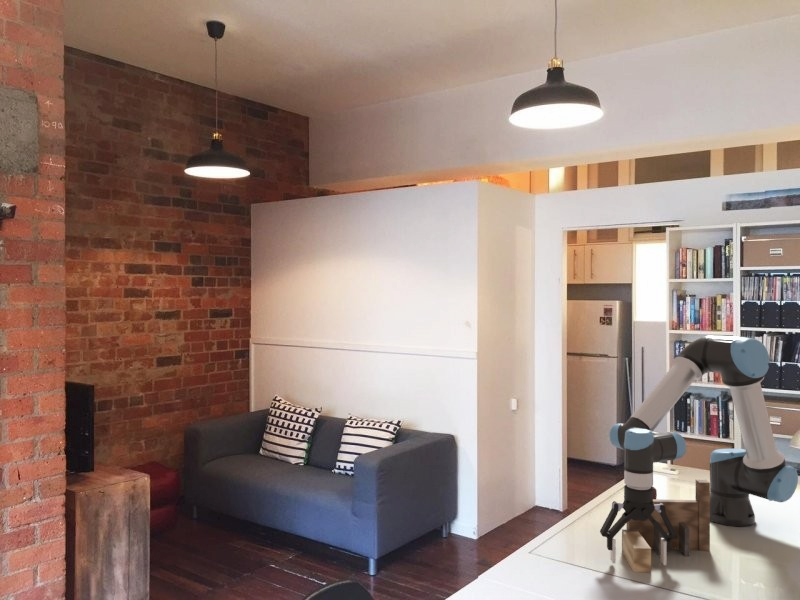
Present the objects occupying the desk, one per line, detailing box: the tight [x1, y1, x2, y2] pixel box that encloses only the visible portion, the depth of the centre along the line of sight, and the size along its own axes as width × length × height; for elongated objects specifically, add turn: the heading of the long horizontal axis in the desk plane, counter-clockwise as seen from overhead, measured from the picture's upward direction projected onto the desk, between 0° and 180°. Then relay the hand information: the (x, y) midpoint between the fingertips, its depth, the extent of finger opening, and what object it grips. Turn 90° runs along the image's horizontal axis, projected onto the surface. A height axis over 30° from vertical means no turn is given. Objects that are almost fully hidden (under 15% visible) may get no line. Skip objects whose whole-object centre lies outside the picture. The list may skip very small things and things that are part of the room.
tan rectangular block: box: [621, 528, 652, 573], centre depth 187 cm, size 5×13×7 cm, turn 175°
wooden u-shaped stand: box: [626, 479, 711, 557], centre depth 195 cm, size 23×8×20 cm, turn 85°
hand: (638, 562), depth 184 cm, fingers open, 13 cm apart
